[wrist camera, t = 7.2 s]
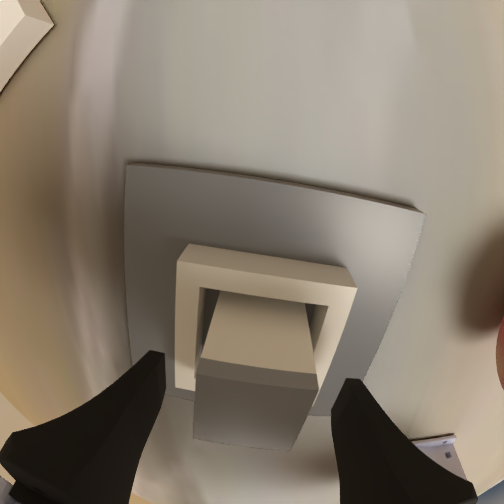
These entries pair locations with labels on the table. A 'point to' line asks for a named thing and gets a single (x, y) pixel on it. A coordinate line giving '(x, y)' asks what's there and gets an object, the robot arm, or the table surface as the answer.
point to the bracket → (19, 33)
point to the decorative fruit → (500, 353)
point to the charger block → (255, 373)
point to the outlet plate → (260, 265)
